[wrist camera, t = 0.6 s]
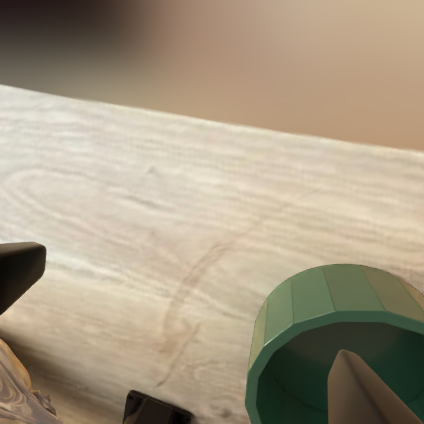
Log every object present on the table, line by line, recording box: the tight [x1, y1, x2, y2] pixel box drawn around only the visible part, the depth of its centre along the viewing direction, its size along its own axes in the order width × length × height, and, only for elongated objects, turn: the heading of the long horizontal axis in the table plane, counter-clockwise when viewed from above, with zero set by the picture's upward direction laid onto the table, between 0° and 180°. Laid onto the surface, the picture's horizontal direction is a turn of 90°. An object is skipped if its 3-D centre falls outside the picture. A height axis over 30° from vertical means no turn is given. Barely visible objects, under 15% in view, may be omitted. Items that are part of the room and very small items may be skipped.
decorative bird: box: [0, 339, 65, 424], centre depth 28 cm, size 6×25×5 cm, turn 75°
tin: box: [245, 264, 424, 424], centre depth 20 cm, size 13×14×6 cm
